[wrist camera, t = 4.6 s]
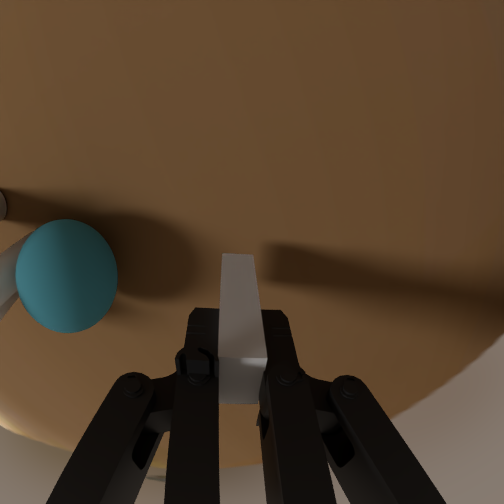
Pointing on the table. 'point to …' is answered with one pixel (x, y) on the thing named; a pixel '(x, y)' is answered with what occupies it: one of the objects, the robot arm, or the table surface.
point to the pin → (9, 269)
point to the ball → (66, 276)
